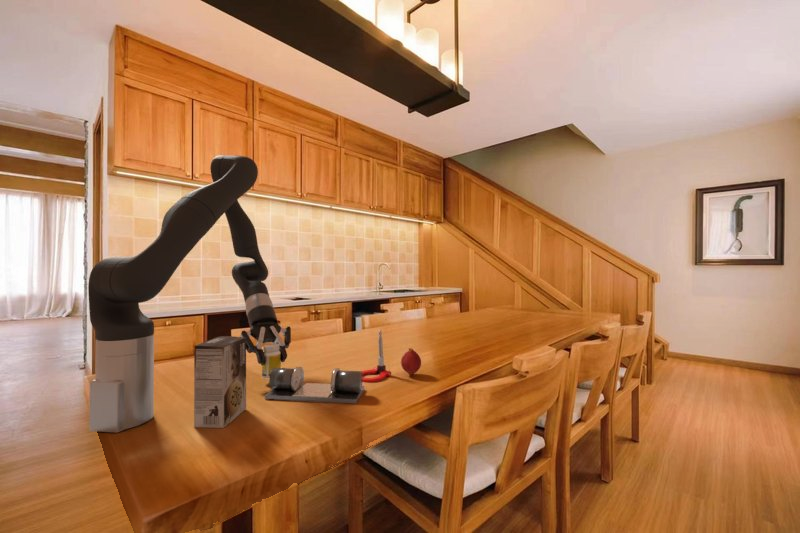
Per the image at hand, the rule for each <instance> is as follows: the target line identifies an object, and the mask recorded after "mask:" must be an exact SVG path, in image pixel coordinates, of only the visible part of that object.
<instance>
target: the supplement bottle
mask: <svg viewBox="0 0 800 533" xmlns="http://www.w3.org/2000/svg"><path fill="white" fill-rule="evenodd" d="M263 352H264V356H265V360H266V362H265V364H264V365H261V377H262V378H264V379H270V375H271V372H272V370H273V369H274V368H282V365H281V363H282V362H281V352H280V351H279V344H277V343H272V342H270V343H264V344H263Z"/></svg>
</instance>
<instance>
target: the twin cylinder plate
mask: <svg viewBox="0 0 800 533" xmlns="http://www.w3.org/2000/svg"><path fill="white" fill-rule="evenodd" d="M362 371H363V370H362ZM362 371H361V370H341V369H340V368H338V367H337V368H336V367H335V368H333V370H332V373H331V377H330V383H316V382H315V383H314V382H313V383H312V382H305V383H304V381H305V380H304V378H305V373H304V372H305V371H304V369H303V367H302V366H296V367H295V368H285V367H283V368H282V367H281V368H274V369H273V370H272V372H271V375H270V378H268V381H269V383H268V385H269V388H270V389H271V390H270V391H269V392H267V393H265V395H264V400H269V399H274V400H275V401H294V402H309V403H310V402H311V403H312V402H314V403H315V402H316V403H333V404H334V403H335V404H353V405H355V404H357V403H358V401H359V399H360V398H361V396H362V394H363V393H364V391H365V385H363V377H364V375H362ZM274 400H273V401H274Z"/></svg>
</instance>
